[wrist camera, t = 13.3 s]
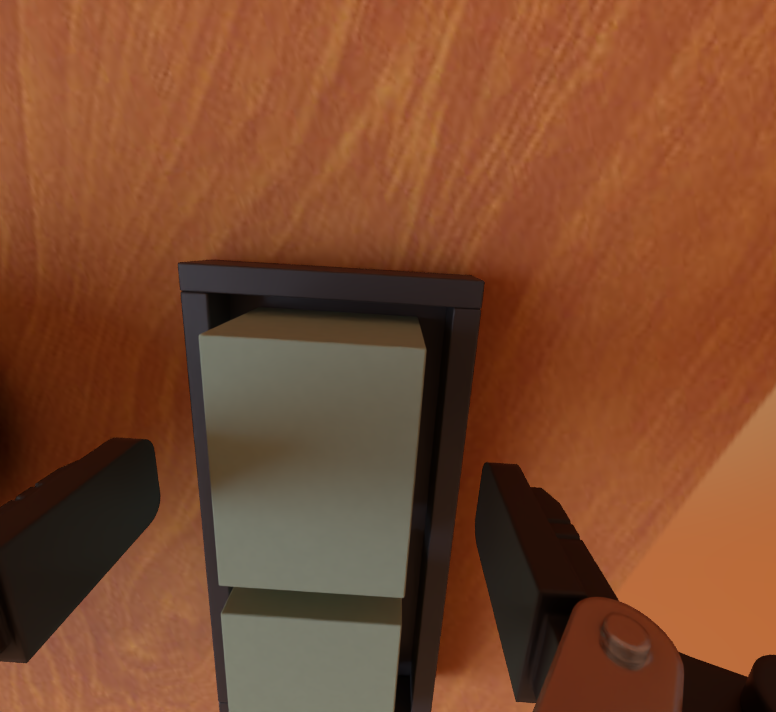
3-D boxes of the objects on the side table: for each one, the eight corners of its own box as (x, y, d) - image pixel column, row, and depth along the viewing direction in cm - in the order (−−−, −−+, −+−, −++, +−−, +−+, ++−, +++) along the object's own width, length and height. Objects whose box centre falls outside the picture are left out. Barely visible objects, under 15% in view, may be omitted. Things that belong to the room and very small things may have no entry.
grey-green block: (265, 518, 15) (219, 613, 11) (401, 526, 15) (401, 625, 11) (271, 657, 17) (233, 779, 13) (390, 665, 17) (387, 789, 13)
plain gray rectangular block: (258, 306, 13) (197, 334, 9) (418, 316, 13) (427, 348, 9) (265, 496, 15) (217, 586, 11) (402, 505, 15) (404, 599, 11)
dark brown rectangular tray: (209, 259, 13) (176, 262, 11) (472, 275, 13) (485, 280, 11) (238, 665, 18) (219, 716, 16) (425, 678, 18) (429, 731, 16)
